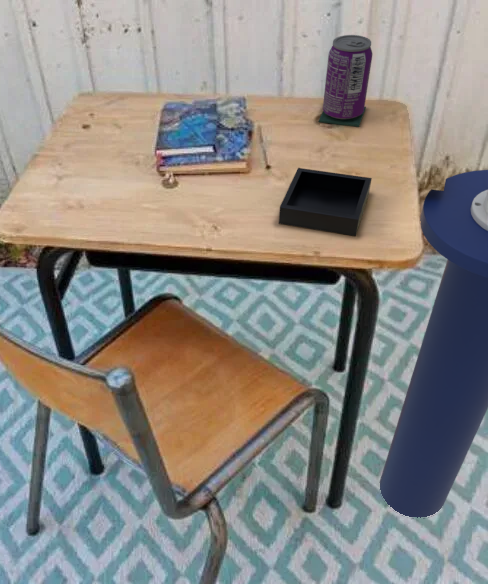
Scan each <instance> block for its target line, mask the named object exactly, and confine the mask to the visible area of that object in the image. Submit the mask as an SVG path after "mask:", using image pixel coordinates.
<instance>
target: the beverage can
mask: <svg viewBox="0 0 488 584" xmlns="http://www.w3.org/2000/svg"><path fill="white" fill-rule="evenodd" d="M371 46H372V40H371V39H370V38H368V37H366V36H363V35H358V34H344V35H340V36H338V37H335V38H333V40H332V46H331V47H330V49H329V51H328V56H327V66H326V73H325V74H326V75H325V82H324V83H325V84H324V93H323V101H322V102H323V103H322V112H323V111H324V112H325V113H326V114H327V115H329V116H331V117H333V118H335V119H341V120H347V119H352V118H354V117H357V116H359V115H361V114H362V113H363V112H364V107H366V99H367V93H368V86H369V80H370V74H371V67H372V61H373V50H372V48H371ZM364 113H365V112H364Z"/></svg>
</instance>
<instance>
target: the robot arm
mask: <svg viewBox="0 0 488 584" xmlns="http://www.w3.org/2000/svg"><path fill="white" fill-rule="evenodd" d="M471 215H472V217H473V219H474V220H475V221H476V222H477V224H478V225H480V226H481V227H482V228H483V229H485V230H487V231H488V190H486V191H483V192H481V193H480V194H478V195H477V196H476V197H475V198H474V200H473V202H472V205H471Z"/></svg>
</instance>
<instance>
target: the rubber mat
mask: <svg viewBox="0 0 488 584" xmlns="http://www.w3.org/2000/svg"><path fill="white" fill-rule="evenodd" d="M366 110H367V106H365V107H364V112H363V113H362V114H361V115H359V116H357V117H354V118H352V119H347V120H341V119H335V118H333V117H331V116H329V115H327V114H326V113H325V112H324V111H323V110H322V112H321V115H320V117H319V119H318V123H324V124H330V125H339V126H347V127H348V126H349V127H356V128H359V127H360V125H361V122H362V121H363V117H364V114H365V112H366Z"/></svg>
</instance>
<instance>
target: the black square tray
mask: <svg viewBox="0 0 488 584" xmlns="http://www.w3.org/2000/svg"><path fill="white" fill-rule="evenodd" d="M372 178H373V177H368V176H360V175H353V174H346V173H339V172H333V171H332V172H331V171H324V170H316V169H310V168H303V167H298V168H297V169H296V171H295V174H293V177H292V180H291V182H290V184H289V186H288V189H287V191H286V192H285V194H284V197H283V199H282V201H281V203H280V206H279V213H278V224H279V225H284V226H290V227H296V228H302V229H309V230H315V231H321V232H327V233H331V234H339V235H344V236H351V237H356V236H357V233H358V231H359V228H360V225H361V221H362V218H363V215H364V212H365V208H366V205H367V202H368V199H369V196H370V191H371V186H372V185H371V184H372V180H373V179H372Z"/></svg>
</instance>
